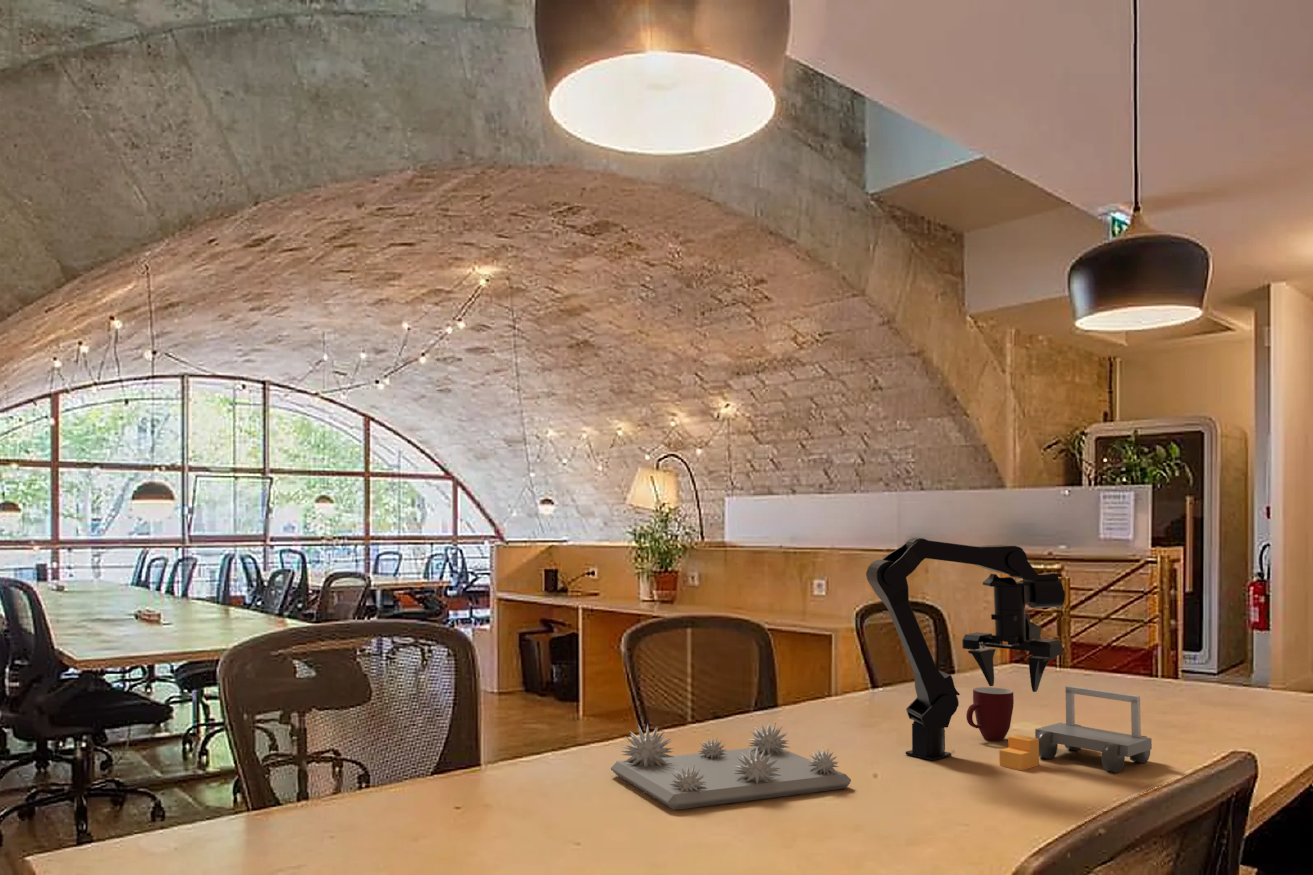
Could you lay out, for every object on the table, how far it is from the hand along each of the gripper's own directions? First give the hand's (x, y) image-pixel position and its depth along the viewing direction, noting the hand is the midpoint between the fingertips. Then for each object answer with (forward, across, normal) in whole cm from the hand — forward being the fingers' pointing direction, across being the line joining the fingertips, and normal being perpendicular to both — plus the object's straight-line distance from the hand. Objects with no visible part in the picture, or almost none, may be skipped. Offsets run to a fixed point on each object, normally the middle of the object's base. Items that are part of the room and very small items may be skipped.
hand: (1012, 688), depth 202 cm
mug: (+13, +10, -8) cm, 18 cm away
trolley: (+13, -12, -7) cm, 19 cm away
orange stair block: (+13, -5, +7) cm, 15 cm away
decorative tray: (+12, +22, +58) cm, 63 cm away
